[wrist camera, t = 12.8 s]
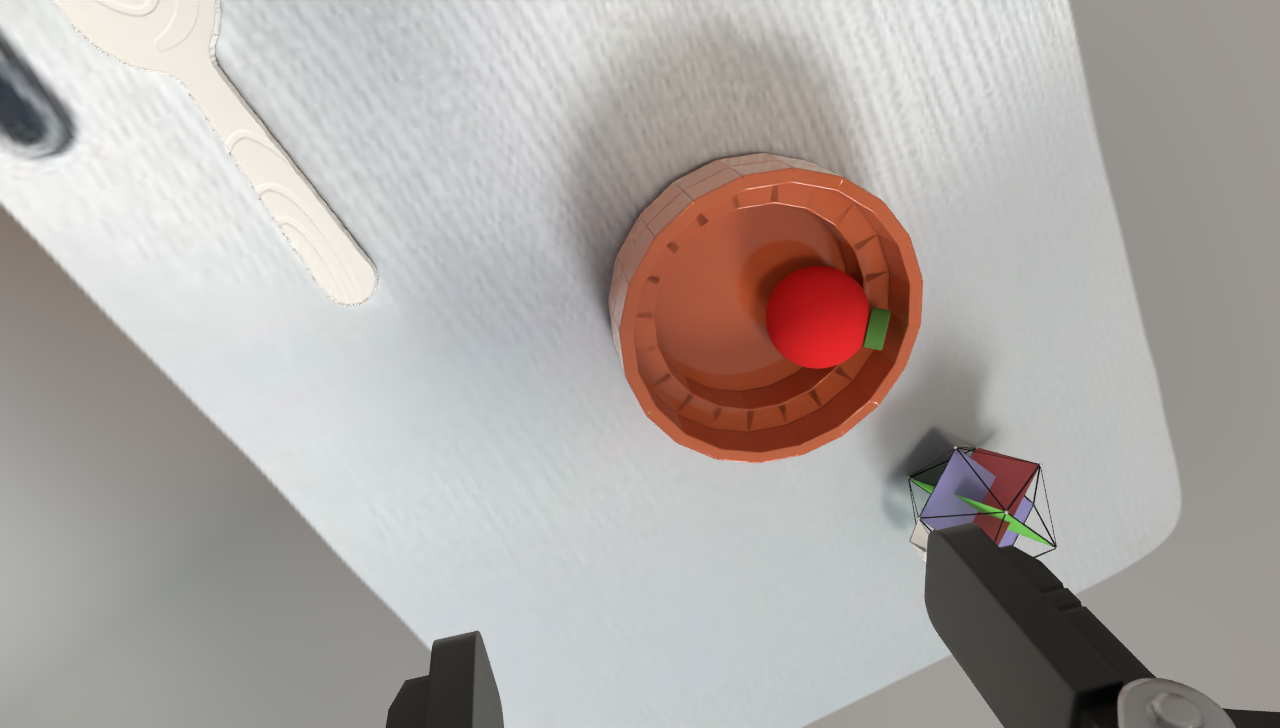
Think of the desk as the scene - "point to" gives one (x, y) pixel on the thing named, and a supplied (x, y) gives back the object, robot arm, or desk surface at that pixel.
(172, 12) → the spoon
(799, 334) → the tomato
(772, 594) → the desk surface
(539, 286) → the desk surface
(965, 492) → the geometric puzzle
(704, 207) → the bowl
